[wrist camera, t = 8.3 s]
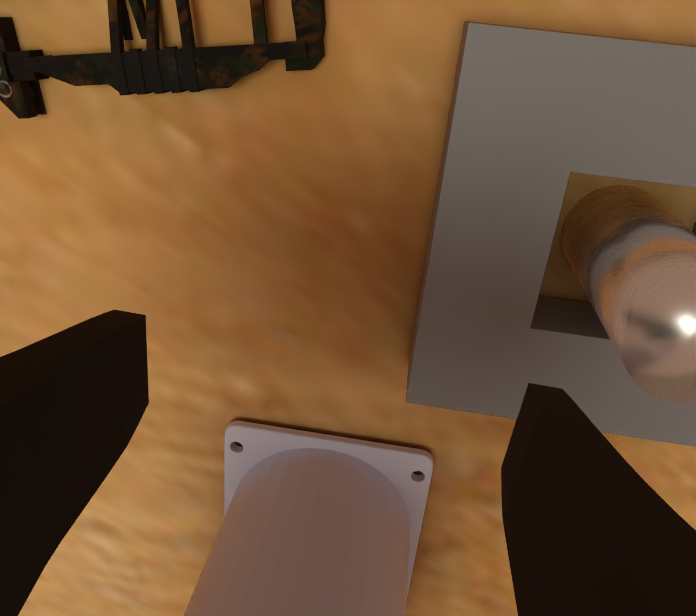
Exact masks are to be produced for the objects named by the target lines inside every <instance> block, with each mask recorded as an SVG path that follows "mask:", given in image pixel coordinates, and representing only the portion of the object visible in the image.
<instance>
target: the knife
mask: <svg viewBox="0 0 696 616" xmlns="http://www.w3.org/2000/svg"><path fill="white" fill-rule="evenodd" d="M128 1H129V4H130V7H131V10H132V12H133V15H134V18H135V21H136V24H137V27H138V30H139V33H140V36H141V39H146V48H147V51H142V48H141V49H129V52H125V51H124V41H123V37H124V40H133V36H132V31H131V25H130V20H129V15H128V11H127V8H126V5H125V2H124V0H108V14H109V29H110V44H111V53H95V54H78V55H60V56H52V55H50V56H43V52H42V50H29V51H21V50H20V46H19V42H18V38H17V34H16V31H15V27H14V23H13V19H12V17H0V100H1V101H2V102H3V103H4V104H5V105H6V106H7V107H8V108H9V109H10V110H11V111H12V112H13V113H14V114H15V115H16V116H17V117H18V118H19V119H20V118H31V117H35V116H37V114H47V113H46V109H45V105H44V101H43V97H42V93H41V89H40V85H39V81H38V80H40V79H47V78H49V76H50V77H53V78H55V79H58V80H61V81H63V82H66V83H69V84H71V85H74V86H82V85H102V84H109V85H110V86H112V87H113V88H114V89H116V90H117V91H118V92H119V93H120V95H130V94H134V93H137V95H139V94H148V93H152V92H154V94H160V93H166V92H170V91H172V93H181V92H184V91H188V90H189V91H190V92H199V91H202V90H205V89H214V88H229V87H231V86H232V85H233V84H234V83H235V82H236V81H237V80H238V79H239V78H240V77H242V76H244V75H247V74H250V73H252V72H255V71H257V70H259V69H260V68H261V67H262V66H264V65H265V64H266V63H267V62H268V61H269V60H276V59H285V62H286V71H295V70H311V69H314V68H315V67H316V65H317V64H318V63H319V62H320V60H321V59H322V58H323V57H324V56H325V53H324V33H325V25H326V20H325V4H324V0H291V2H292V12H293V18H294V24H295V31H296V39H297V41H295V42H284V43H270V44H268V38H267V28H266V18H265V8H264V0H250V7H251V17H252V27H253V36H254V44H253V45H235V46H218V47H200V48H196V47H195V40H194V33H193V26H192V20H191V13H190V6H189V0H176V6H177V13H178V19H179V26H180V32H181V39H182V46H183V49H178V48H177V46H176V47H165V50H160V48H159V0H146V13H145V9H144V6H143V3H142V0H128Z"/></svg>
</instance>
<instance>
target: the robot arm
mask: <svg viewBox="0 0 696 616" xmlns="http://www.w3.org/2000/svg"><path fill="white" fill-rule="evenodd" d="M148 403H149V397H148V370H147V343H146V316H145V315H142V314H136V313H130V312H125V311H119V310H112V311H109V312H106V313H103V314H101V315H98V316H96V317H93V318H91V319H88V320H86V321H84V322H81V323H79V324H77V325H74V326H72V327H70V328H68V329H65V330H63V331H61V332H59V333H56V334H54V335H52V336H49V337H47V338H45V339H42V340H40V341H38V342H35V343H33V344H31V345H29V346H26V347H24V348H22V349H19V350H17V351H15V352H12V353H10V354H7V355H4V356H2V357H0V616H18V614H19V612H20V611H21V609H22V607H23V605H24V603H25V602H26V600H27V598H28V596H29V594H30V593H31V591H32V589H33V587H34V585H35V584H36V582H37V580H38V578H39V576H40V575H41V573H42V571H43V569H44V568H45V566H46V564H47V563H48V561H49V559H50V558H51V556H52V555H53V553H54V552H55V550H56V548H57V547H58V545H59V544H60V542H61V541H62V539H63V538H64V536H65V535H66V534H67V532H68V531H69V529H70V528H71V526H72V525H73V524H74V522H75V521H76V519H77V518H78V516H79V515H80V514H81V512H82V511H83V509H84V508H85V506H86V505H87V504H88V502H89V501H90V499H91V498H92V496H93V495H94V494H95V492H96V491H97V489H98V488H99V486H100V485H101V484H102V482H103V481H104V479H105V478H106V476H107V475H108V473H109V472H110V471H111V469H112V468H113V466H114V465H115V463H116V462H117V460H118V459H119V457H120V456H121V454H122V453H123V451H124V450H125V448H126V447H127V445H128V443H129V441H130V439H131V437H132V436H133V434H134V432H135V430H136V428H137V426H138V424H139V422H140V420H141V418H142V416H143V414H144V411H145V409H146V407H147V405H148ZM234 442H239V443H241V444H242V445H243V446H237V445H236V444H235V443H234ZM415 471H421V472H423V474H421V475H416V474H414V473H413V472H415ZM432 471H433V457H432V455H431V454H430V453H429V452H427V451H425V450H422V449H415V448H409V447H403V446H396V445H390V444H384V443H377V442H371V441H365V440H358V439H352V438H346V437H339V436H333V435H327V434H320V433H314V432H308V431H301V430H295V429H289V428H282V427H276V426H270V425H263V424H257V423H251V422H244V421H233V422H231V423H230V424H229V425H228V426H227V428H226V430H225V434H224V520H223V522H222V525H221V527H220V529H219V532H218V534H217V537H216V539H215V541H214V544H213V546H212V549H211V551H210V553H209V556H208V558H207V561H206V563H205V566H204V568H203V570H202V573H201V575H200V578H199V580H198V582H197V585H196V587H195V590H194V592H193V594H192V597H191V599H190V602H189V604H188V606H187V609H186V611H185V614H184V616H406V603H407V596H408V591H409V586H410V581H411V576H412V571H413V566H414V561H415V556H416V551H417V546H418V541H419V536H420V531H421V526H422V521H423V516H424V511H425V506H426V501H427V496H428V491H429V486H430V481H431V476H432ZM501 480H502V515H503V524H504V530H505V537H506V543H507V550H508V556H509V562H510V568H511V574H512V580H513V586H514V593H515V599H516V605H517V611H518V616H696V530H695V529H693V528H692V527H691V526H690V525H689V524H688V523H687V522H686V521H685V520H684V519H683V518H681V517H680V516H679V515H678V514H677V513H676V512H675V511H674V510H673V509H672V508H671V507H670V506H669V505H668V504H667V503H666V502H665V501H664V500H663V499H662V498H661V497H660V496H659V495H658V494H657V493H656V492H655V491H654V490H653V489H652V488H651V487H650V486H649V485H648V484H647V483H646V482H645V481H644V480H643V479H642V478H641V477H640V476H639V475H638V473H637V472H636V471H635V470H634V469H633V468H632V467H631V466H630V465H629V464H628V463H627V462H626V461H625V459H624V458H623V457H622V456H621V455H620V454H619V453H618V452H617V451H616V449H615V448H614V447H613V446H612V445H611V444H610V443H609V441H608V440H607V439H606V438H605V437H604V436H603V435H602V433H601V432H600V431H599V430H598V429H597V428H596V426H595V425H594V424H593V423H592V422H591V421H590V419H589V418H588V417H587V416H586V415H585V413H584V412H583V411H582V410H581V409H580V408H579V406H578V405H577V404H576V403H575V402H574V401H573V400H572V398H571V397H570V396H569V395H568V394H567V393H566V392H565V391H564V390H563V389H561V388H556V387H550V386H544V385H539V384H533V383H528V386H527V389H526V392H525V395H524V398H523V402H522V405H521V408H520V411H519V414H518V417H517V420H516V423H515V427H514V430H513V433H512V436H511V439H510V442H509V445H508V448H507V452H506V455H505V458H504V461H503V464H502V467H501Z"/></svg>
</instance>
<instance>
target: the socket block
mask: <svg viewBox="0 0 696 616" xmlns="http://www.w3.org/2000/svg"><path fill="white" fill-rule="evenodd" d="M570 172H575V173H583V174H591V175H599V176H607V177H615V178H623V179H631V180H639V181H647V182H656V183H664V184H672V185H680V186H688V187H696V46H688V45H679V44H669V43H660V42H651V41H642V40H632V39H623V38H614V37H605V36H595V35H586V34H577V33H567V32H558V31H549V30H540V29H530V28H521V27H512V26H503V25H493V24H484V23H475V22H466V21H464V26H463V33H462V39H461V45H460V51H459V57H458V63H457V69H456V76H455V82H454V88H453V94H452V100H451V106H450V112H449V119H448V125H447V131H446V137H445V143H444V149H443V155H442V162H441V168H440V174H439V180H438V186H437V192H436V198H435V204H434V211H433V217H432V223H431V229H430V235H429V241H428V247H427V254H426V260H425V266H424V272H423V278H422V284H421V290H420V297H419V303H418V309H417V315H416V321H415V327H414V333H413V340H412V346H411V352H410V358H409V366H408V380H407V393H406V402H407V403H414V404H420V405H427V406H433V407H440V408H446V409H453V410H460V411H466V412H473V413H479V414H486V415H492V416H499V417H505V418H512V419H517V417H518V414H519V411H520V408H521V405H522V402H523V398H524V395H525V392H526V389H527V386H528V383H533V384H539V385H544V386H550V387H556V388H561V389H563V390H564V391H565V392H566V393H567V394H568V395H569V396H570V397H571V398H572V400H573V401H574V402H575V403H576V404H577V405H578V406H579V408H580V409H581V410H582V411H583V412H584V413H585V415H586V416H587V417H588V418H589V419H590V421H591V422H592V423H593V424H594V425H595V426H596V428H597V429H598V430H599V431H600V432H604V433H610V434H617V435H623V436H630V437H636V438H643V439H650V440H656V441H663V442H669V443H676V444H682V445H689V446H695V447H696V403H679V402H672V401H667V400H664V399H661V398H658V397H656V396H654V395H651V394H649V393H648V392H646V391H645V390H643V389H642V388H641V387H640V386H639V385H637V384H636V382H635V381H634V380H633V379H632V378H631V376H630V374H629V373H628V371H627V369H626V367H625V366H624V364H623V362H622V360H621V358H620V356H619V354H618V353H617V351H616V349H615V347H614V345H613V343H612V341H611V340H610V338H609V336H608V334H607V332H606V330H605V328H604V327H603V325H602V323H601V321H600V319H599V317H598V315H597V314H596V312H595V310H594V308H593V306H592V304H591V303H586V302H579V301H572V300H564V299H557V298H550V297H543V296H539V292H540V288H541V284H542V280H543V276H544V273H545V269H546V265H547V261H548V257H549V253H550V249H551V245H552V241H553V237H554V234H555V230H556V226H557V222H558V218H559V214H560V210H561V206H562V202H563V199H564V195H565V191H566V187H567V183H568V179H569V175H570ZM693 233H694V234H696V224H695V227H694V230H693Z"/></svg>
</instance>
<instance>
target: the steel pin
mask: <svg viewBox="0 0 696 616" xmlns="http://www.w3.org/2000/svg"><path fill="white" fill-rule="evenodd" d="M561 240H562V247H563V251H564V254H565V256H566V258H567V260H568V262H569V263H570V265H571V267H572V269H573V271H574V273H575V275H576V276H577V278H578V280H579V282H580V284H581V286H582V288H583V289H584V291H585V293H586V295H587V297H588V299H589V301H590V302H591V304H592V306H593V308H594V310H595V312H596V314H597V315H598V317H599V319H600V321H601V323H602V325H603V327H604V328H605V330H606V332H607V334H608V336H609V338H610V340H611V341H612V343H613V345H614V347H615V349H616V351H617V353H618V354H619V356H620V358H621V360H622V362H623V364H624V366H625V367H626V369H627V371H628V373H629V374H630V376H631V378H632V379H633V380H634V381H635V382H636V384H637V385H639V386H640V387H641V388H642V389H643V390H645V391H646V392H648V393H649V394H651V395H654V396H656V397H658V398H661V399H664V400H667V401H672V402H679V403H696V234H694V233H693V232H692V231H691V230H690V229H689V228H687V227H686V226H685V225H684V224H683V223H681V222H680V221H679V220H678V219H677V218H676V217H674V216H673V215H672V214H671V213H670V212H668V211H667V210H666V209H665V208H664V207H663V206H661V205H660V204H659V203H658V202H657V201H656V200H654V199H653V198H652V197H651V196H649V195H648V194H647V193H645V192H643V191H641V190H639V189H636V188H633V187H628V186H611V187H606V188H602V189H599V190H597V191H594V192H592V193H591V194H589V195H587V196H586V197H584V198H583V199H582V200H580V201H579V202H578V203H577V204H576V205H575V206H574V207H573V209H572V210H571V211H570V213H569V214H568V216H567V218H566V220H565V222H564V225H563V229H562V237H561Z"/></svg>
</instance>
